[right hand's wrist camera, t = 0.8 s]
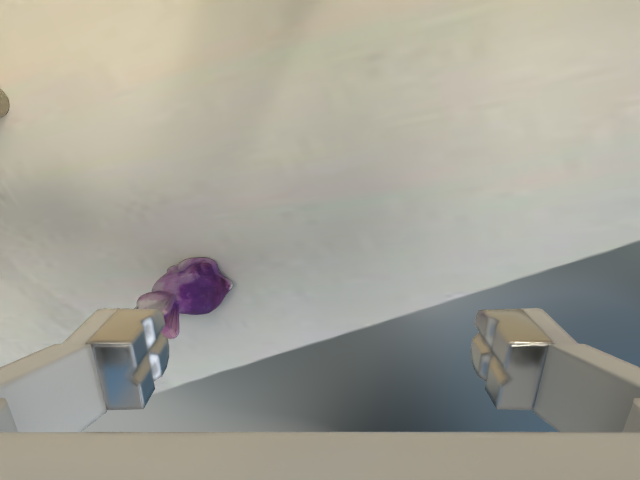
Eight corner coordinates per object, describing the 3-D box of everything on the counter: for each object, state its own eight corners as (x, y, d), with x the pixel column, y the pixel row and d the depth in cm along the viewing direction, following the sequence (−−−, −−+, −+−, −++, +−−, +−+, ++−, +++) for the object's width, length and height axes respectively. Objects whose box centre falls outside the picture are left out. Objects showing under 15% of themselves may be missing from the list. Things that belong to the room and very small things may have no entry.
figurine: (152, 281, 63) (104, 335, 49) (193, 240, 60) (155, 284, 46) (197, 318, 65) (163, 379, 51) (238, 280, 63) (215, 334, 49)
